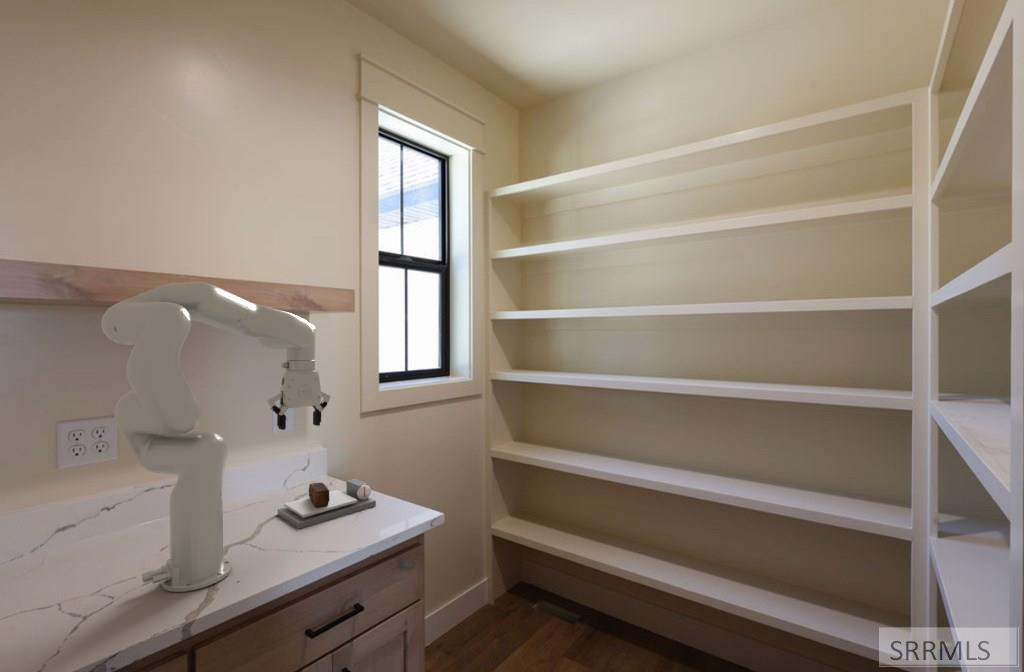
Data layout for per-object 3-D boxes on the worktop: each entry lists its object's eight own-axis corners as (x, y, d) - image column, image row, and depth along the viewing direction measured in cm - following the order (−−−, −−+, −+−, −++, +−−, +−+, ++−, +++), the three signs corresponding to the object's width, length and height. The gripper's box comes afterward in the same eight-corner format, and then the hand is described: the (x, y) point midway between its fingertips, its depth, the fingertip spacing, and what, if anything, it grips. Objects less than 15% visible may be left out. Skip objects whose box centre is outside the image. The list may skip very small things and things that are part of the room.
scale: (299, 528, 127) (298, 506, 127) (277, 514, 138) (277, 493, 138) (376, 505, 144) (376, 485, 144) (352, 494, 155) (351, 475, 155)
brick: (330, 505, 136) (329, 489, 136) (315, 508, 134) (315, 492, 134) (322, 495, 145) (322, 480, 145) (308, 498, 143) (308, 482, 143)
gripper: (274, 367, 126) (272, 432, 126) (335, 366, 139) (335, 425, 138) (263, 367, 131) (262, 429, 131) (324, 365, 144) (323, 422, 143)
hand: (299, 427), depth 135 cm, fingers open, 9 cm apart
